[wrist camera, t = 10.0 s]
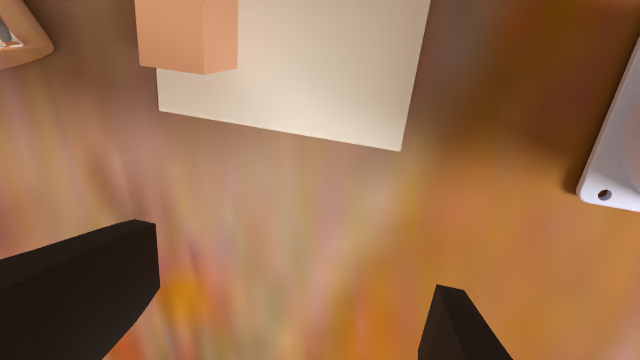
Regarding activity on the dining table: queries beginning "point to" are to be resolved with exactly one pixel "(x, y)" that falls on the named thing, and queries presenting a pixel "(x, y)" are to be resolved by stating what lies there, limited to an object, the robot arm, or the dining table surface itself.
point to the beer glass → (20, 35)
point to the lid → (288, 63)
